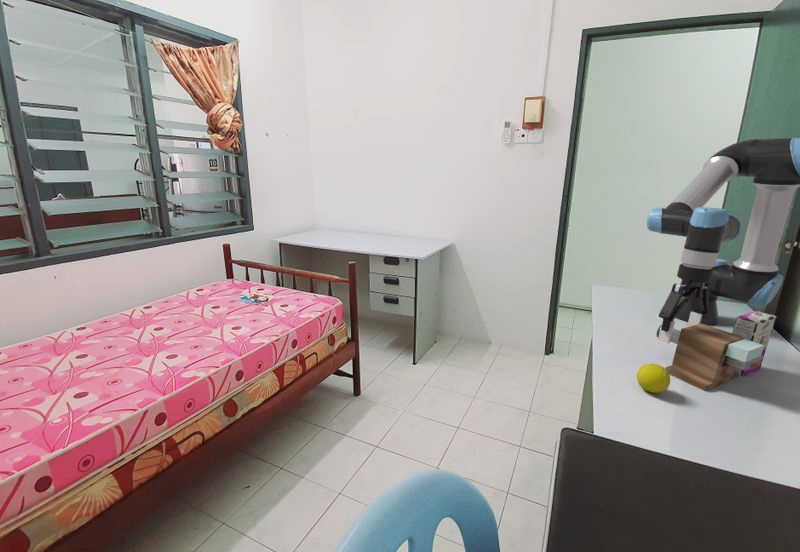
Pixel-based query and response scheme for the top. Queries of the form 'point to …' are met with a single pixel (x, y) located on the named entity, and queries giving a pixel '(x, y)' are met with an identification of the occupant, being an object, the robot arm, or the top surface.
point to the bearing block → (703, 356)
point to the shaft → (727, 359)
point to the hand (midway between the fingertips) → (677, 337)
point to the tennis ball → (653, 378)
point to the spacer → (744, 350)
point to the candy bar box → (754, 334)
